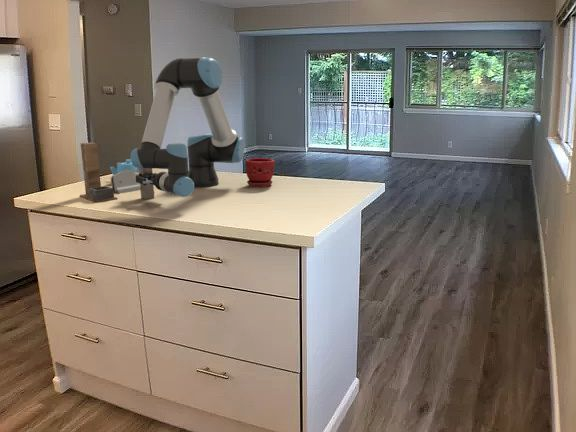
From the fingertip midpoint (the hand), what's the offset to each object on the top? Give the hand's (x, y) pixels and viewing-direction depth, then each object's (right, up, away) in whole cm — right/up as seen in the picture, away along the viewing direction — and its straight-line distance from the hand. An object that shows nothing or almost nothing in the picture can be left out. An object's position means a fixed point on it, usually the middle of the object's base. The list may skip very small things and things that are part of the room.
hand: (140, 175), depth 240 cm
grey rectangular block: (+4, -10, -2) cm, 10 cm away
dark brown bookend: (-18, -9, 0) cm, 20 cm away
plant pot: (+50, -3, +22) cm, 55 cm away
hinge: (-9, -6, +17) cm, 20 cm away
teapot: (-15, -1, +38) cm, 41 cm away
